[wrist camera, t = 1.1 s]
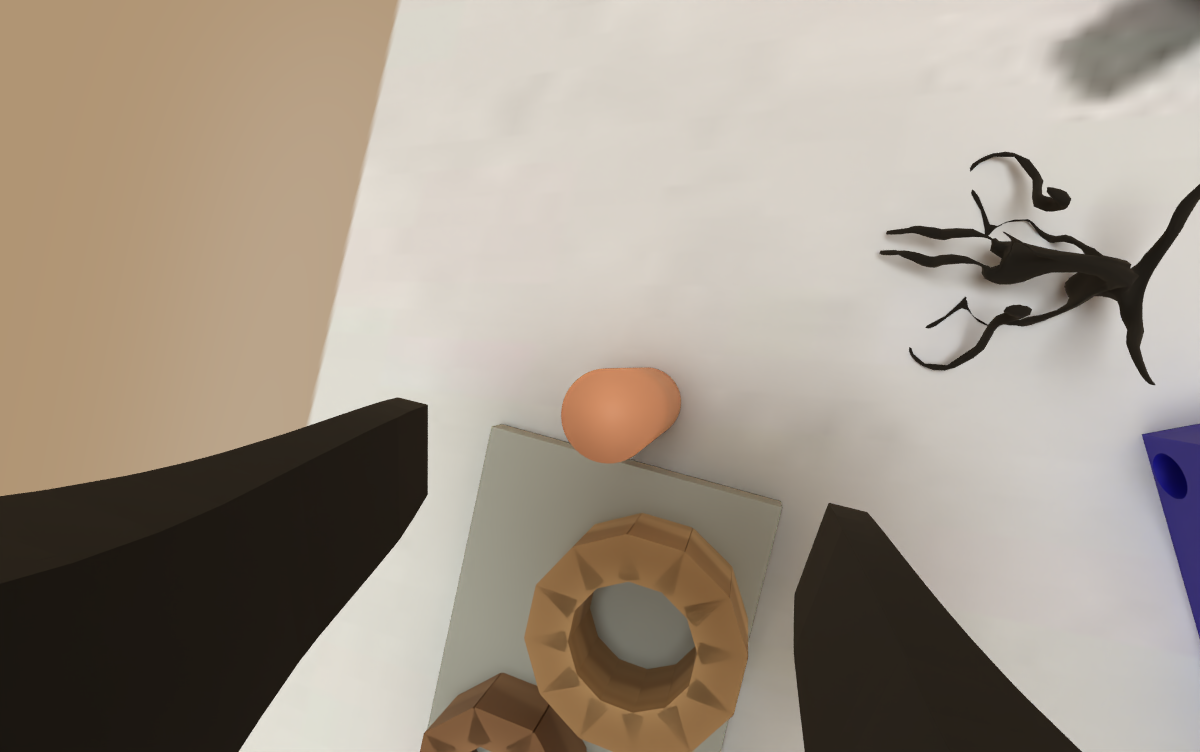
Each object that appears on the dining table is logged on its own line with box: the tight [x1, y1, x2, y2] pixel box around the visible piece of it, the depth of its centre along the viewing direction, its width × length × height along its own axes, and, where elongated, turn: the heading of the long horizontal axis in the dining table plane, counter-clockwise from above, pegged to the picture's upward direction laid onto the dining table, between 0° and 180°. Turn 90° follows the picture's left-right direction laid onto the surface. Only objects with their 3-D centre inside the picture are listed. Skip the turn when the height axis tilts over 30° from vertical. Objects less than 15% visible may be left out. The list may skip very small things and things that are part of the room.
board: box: [427, 424, 782, 752], centre depth 24 cm, size 16×12×1 cm
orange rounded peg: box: [561, 368, 681, 464], centre depth 21 cm, size 3×3×7 cm
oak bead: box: [524, 513, 748, 752], centre depth 22 cm, size 8×8×3 cm
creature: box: [880, 152, 1200, 385], centre depth 19 cm, size 8×5×8 cm
